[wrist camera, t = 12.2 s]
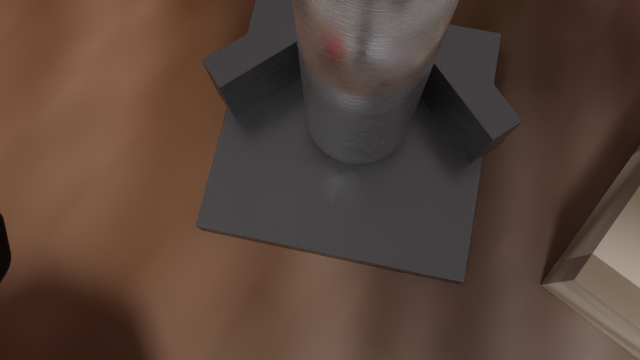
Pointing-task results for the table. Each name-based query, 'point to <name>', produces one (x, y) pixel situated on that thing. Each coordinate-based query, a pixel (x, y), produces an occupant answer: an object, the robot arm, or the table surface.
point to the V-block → (346, 178)
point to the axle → (366, 70)
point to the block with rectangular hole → (606, 263)
